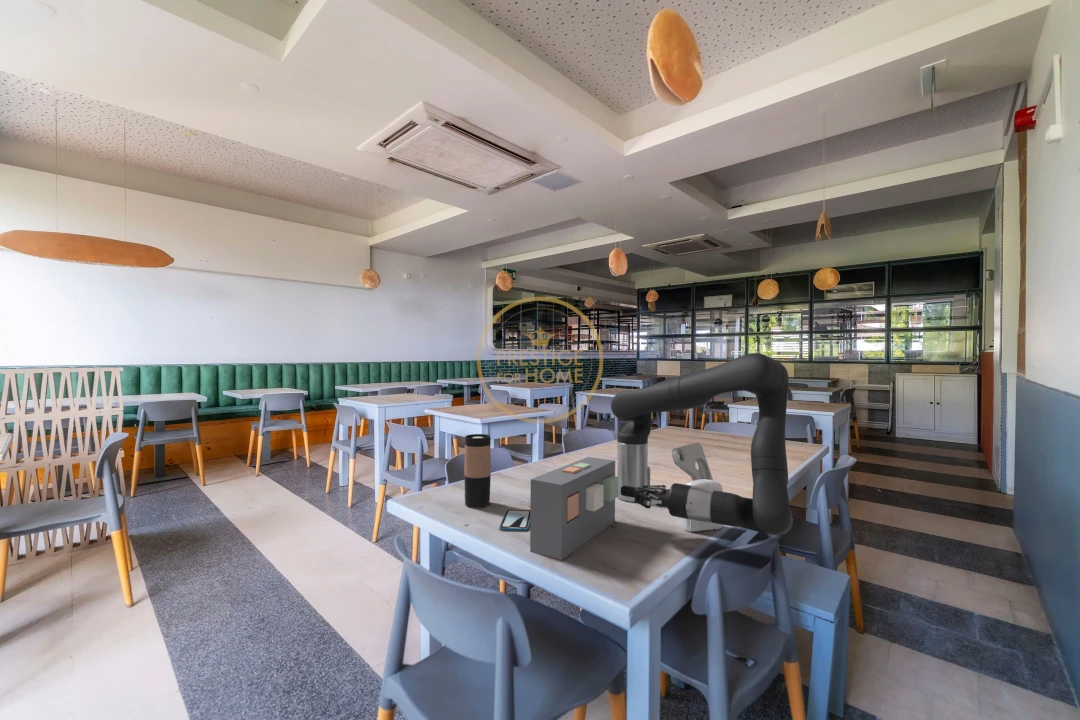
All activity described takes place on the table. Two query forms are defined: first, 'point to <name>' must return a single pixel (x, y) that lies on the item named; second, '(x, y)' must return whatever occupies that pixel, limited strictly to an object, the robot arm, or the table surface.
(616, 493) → the sage key
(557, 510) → the keypad console
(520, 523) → the smartphone
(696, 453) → the phone holder
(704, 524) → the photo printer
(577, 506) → the terracotta key
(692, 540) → the table surface
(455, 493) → the table surface
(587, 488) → the white key
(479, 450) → the travel mug
